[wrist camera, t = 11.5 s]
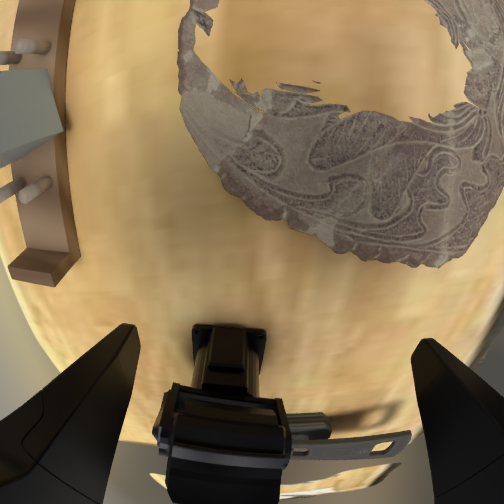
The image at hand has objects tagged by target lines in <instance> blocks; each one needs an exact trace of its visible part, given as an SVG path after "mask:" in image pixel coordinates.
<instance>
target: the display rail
mask: <svg viewBox="0 0 504 504" xmlns="http://www.w3.org/2000/svg"><path fill="white" fill-rule="evenodd" d="M74 4H75V0H19V4H18V9H17V14H16V19H15V24H14V30H13V37H12V44H11V51H0V65H7V64H9V70H26V69H47V73H48V77H49V81H50V85H51V89H52V93H53V97H54V100H55V104H56V107H57V111H58V114H59V118H60V121H61V124H62V127H63V130H64V131H63V132H61V133H59V134H58V135H56V136H54V137H53V138H51V139H49V140H48V141H46V142H45V143H43V144H42V145H40V146H39V147H37V148H36V149H34V150H33V151H31V152H30V153H28V154H27V155H25V156H24V157H22V158H21V159H19V160H17V161H15V162H13V163H11V168H12V175H13V181H12V182H10V183H8V184H6V185H5V186H3V187H1V188H0V203H1V202H3V201H5V200H6V199H8V198H9V197H11V196H12V195H14V194H15V195H16V201H17V206H18V211H19V216H20V221H21V226H22V230H23V234H24V238H25V242H26V246H27V248H26V249H25V250H24V251H23V252H22V253H21V254H20V255H19V256H18V257H17V258H16V259H15V260H14V261H13V262H12V263H11V264H10V265H9V266H8V269H9V272H10V275H11V278H12V279H15V280H19V281H24V282H29V283H34V284H39V285H45V286H50V287H56V285H57V284H58V283H59V282H60V280H61V279H62V278H63V277H64V276H65V274H66V273H67V272H68V271H69V270H70V268H71V267H72V266H73V265H74V264H75V262H76V261H77V260H78V259H79V258H80V257H81V255H80V250H79V245H78V240H77V235H76V229H75V223H74V217H73V210H72V203H71V196H70V187H69V178H68V168H67V155H66V136H65V84H66V67H67V54H68V45H69V36H70V29H71V22H72V15H73V10H74Z"/></svg>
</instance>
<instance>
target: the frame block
mask: <svg viewBox="0 0 504 504" xmlns="http://www.w3.org/2000/svg"><path fill="white" fill-rule="evenodd" d="M63 131H64V130H63V127H62V124H61V121H60V118H59V114H58V111H57V107H56V104H55V100H54V97H53V93H52V89H51V85H50V81H49V77H48V73H47V69H26V70H9V71H0V168H2V167H4V166H6V165H8V164H10V163H13V162H15V161H17V160H19V159H21V158H22V157H24V156H25V155H27V154H28V153H30V152H31V151H33V150H34V149H36V148H37V147H39V146H40V145H42V144H43V143H45V142H46V141H48V140H49V139H51V138H53V137H54V136H56V135H58V134H59V133H61V132H63Z"/></svg>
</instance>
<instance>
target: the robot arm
mask: <svg viewBox="0 0 504 504" xmlns="http://www.w3.org/2000/svg"><path fill="white" fill-rule="evenodd" d="M197 330H199V331H197ZM259 335H262V336H259ZM266 338H267V336H266V332H265V331H264V330H255V329H241V328H228V327H217V326H206V325H194V326H193V328H192V342H193V357H194V371H193V377H192V383H191V387H188V386H183V385H180V384H179V383H174V382H173V385H172V389H171V390H169V391H168V392H165V393H164V396H163V401H162V405H161V409H160V411H159V414H158V416H157V419H156V421H155V424H154V426H153V430H152V434H153V436H154V437H155V438H156V440H157V445H158V446H159V456H164V457H168V462H167V471H166V479H165V484H166V486H167V491H168V494H169V496H170V498H171V500H172V502H173V504H278V502H279V498H280V484H281V475H282V470H284V469H285V468H286V467H287V465H288V463H289V460H290V456H291V449H292V436H291V431H290V427H289V424H288V420H287V416H286V412H285V409H284V405H283V401H282V399H280V398H275V399H269V398H260V397H259V375H260V370H261V365H262V360H263V354H264V349H265V343H266ZM140 348H141V345H140V340H139V336H138V331H137V327H136V326H135V325H133V324H127V323H122V324H121V325H119V326H118V327H117V328H116V329H114V330H113V331H112V332H111V333H109V334H108V335H107V336H106V337H104V338H103V339H102V340H101V341H99V342H98V343H97V344H96V345H95V346H93V347H92V348H91V349H90V350H88V351H87V352H86V353H85V354H83V355H82V356H81V357H80V358H79V359H77V360H76V361H75V362H74V363H73V364H71V365H70V366H69V367H68V368H67V369H65V370H64V371H63V372H62V373H61V374H59V375H58V376H57V377H56V378H55V379H53V380H52V381H51V382H50V383H49V384H48V385H46V386H45V387H44V388H43V389H42V390H40V391H39V392H38V393H37V394H36V395H34V396H33V397H32V398H31V399H29V400H28V401H27V402H26V403H24V404H23V405H22V406H21V407H19V408H18V409H17V410H15V411H14V412H12V413H11V414H10V415H8V416H7V417H5V418H4V419H2V420H1V421H0V504H103V499H104V495H105V491H106V486H107V482H108V478H109V474H110V470H111V466H112V462H113V458H114V454H115V450H116V447H117V443H118V439H119V436H120V432H121V429H122V425H123V422H124V418H125V415H126V412H127V408H128V405H129V402H130V398H131V395H132V390H133V385H134V380H135V374H136V369H137V364H138V359H139V354H140ZM411 365H412V371H413V377H414V384H415V391H416V397H417V402H418V407H419V411H420V416H421V420H422V425H423V430H424V435H425V440H426V445H427V450H428V457H429V463H430V469H431V476H432V484H433V492H434V503H435V504H504V397H503V396H500V394H499V393H498V392H497V391H496V390H495V389H493V388H492V387H491V386H490V385H489V384H488V383H487V382H485V381H484V380H483V379H482V378H481V377H479V376H478V375H477V374H476V373H475V372H474V371H472V370H471V369H470V368H469V367H468V366H466V365H465V364H464V363H463V362H461V361H460V360H459V359H458V358H457V357H455V356H454V355H453V354H452V353H451V352H449V351H448V350H447V349H446V348H444V347H443V346H442V345H441V344H439V343H438V342H437V341H436V340H434V339H433V338H424V339H422V340H421V341H420V342H419V344H418V345H417V347H416V349H415V350H414V352H413V354H412V356H411Z"/></svg>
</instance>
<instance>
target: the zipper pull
mask: <svg viewBox="0 0 504 504" xmlns="http://www.w3.org/2000/svg"><path fill="white" fill-rule="evenodd" d="M286 416H287V420H288V424H289V427H290V431H291V436H292V449H291V456H290V459H297V460H357V459H375V458H386V457H394V456H395V455H396V454H398V453H399V452H401V451H402V450H403V449H404V448H405V447H406V446H407V444H408V443H409V441H410V440H411V436H412V434H411V431H410V430H407V431H401V432H395V433H388V434H380V435H373V436H364V437H353V438H340V439H328V438H330V435H331V432H332V430H331V424H330V419H329V418H328V417H327V416H326V415H324V414H323V413H322V412H319V413H301V414H286ZM392 441H393V442H392ZM383 442H392V444H391V445H390V446H389V447H388V448H387V449H385V450H382V451H372V449H373V448H374V446H375V445H376V444H379V443H383ZM294 448H300V449H301V448H302V449H304V448H305V449H308V451H306V452H293V450H294ZM371 451H372V452H371Z"/></svg>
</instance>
